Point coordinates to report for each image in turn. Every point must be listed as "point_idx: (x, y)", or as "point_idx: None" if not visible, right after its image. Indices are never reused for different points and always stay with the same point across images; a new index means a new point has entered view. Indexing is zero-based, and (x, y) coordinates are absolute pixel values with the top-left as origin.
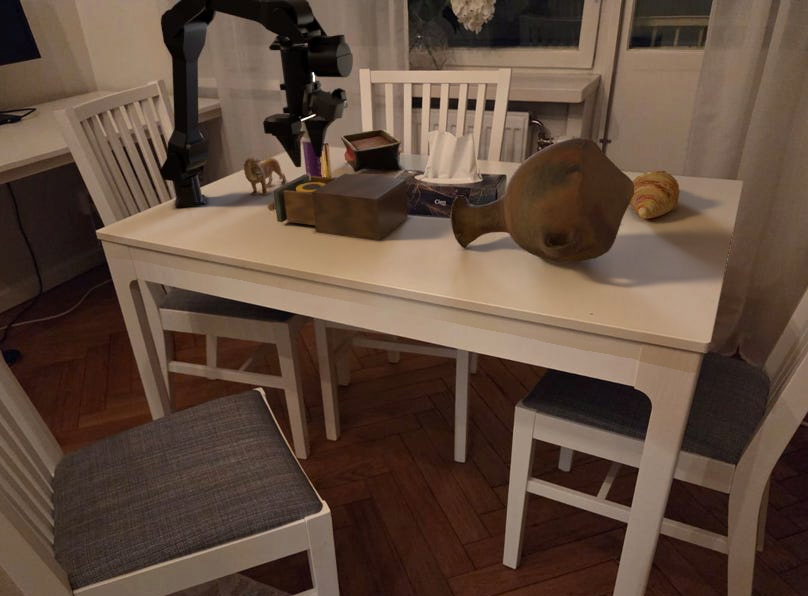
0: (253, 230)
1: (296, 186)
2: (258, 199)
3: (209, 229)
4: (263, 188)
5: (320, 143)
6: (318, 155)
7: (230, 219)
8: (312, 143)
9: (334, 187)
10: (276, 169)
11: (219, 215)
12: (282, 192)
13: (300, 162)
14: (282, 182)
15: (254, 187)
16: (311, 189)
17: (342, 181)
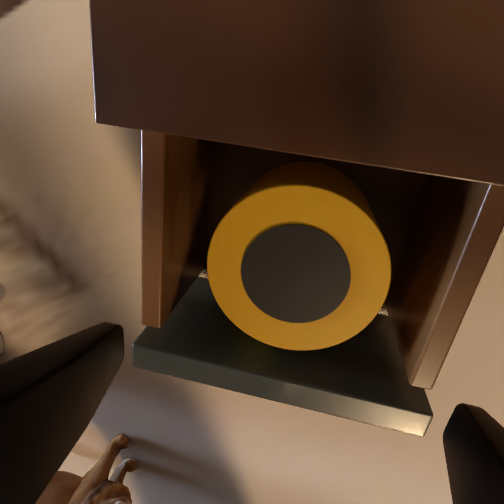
0: (445, 386)
1: (262, 356)
2: (167, 443)
3: (437, 496)
4: (115, 455)
5: (21, 405)
6: (115, 346)
7: (345, 468)
8: (42, 478)
9: (461, 47)
10: None
11: (315, 499)
12: (389, 390)
13: (500, 435)
14: None
15: (121, 478)
16: (347, 259)
17: (282, 51)
